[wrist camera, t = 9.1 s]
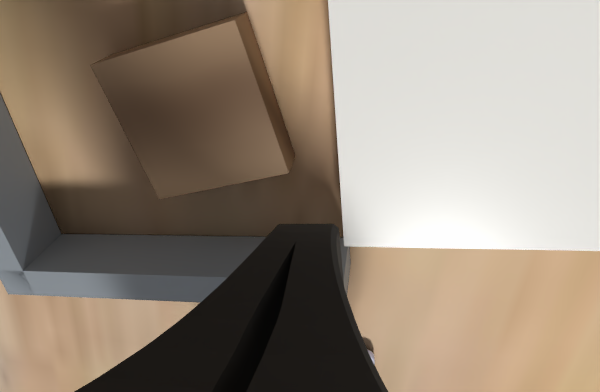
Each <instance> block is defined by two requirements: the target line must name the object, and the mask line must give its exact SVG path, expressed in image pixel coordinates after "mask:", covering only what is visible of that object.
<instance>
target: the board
mask: <svg viewBox="0 0 600 392" xmlns="http://www.w3.org/2000/svg"><path fill="white" fill-rule="evenodd" d="M328 9H329V24H330V39H331V54H332V69H333V84H334V100H335V115H336V130H337V145H338V160H339V175H340V190H341V205H342V221H343V236H344V246H348V247H405V248H463V249H520V250H578V251H600V0H328Z"/></svg>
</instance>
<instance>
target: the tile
mask: <svg viewBox="0 0 600 392" xmlns="http://www.w3.org/2000/svg"><path fill="white" fill-rule="evenodd" d="M90 66H91V68H92V70H93V72H94V74H95V75H96V77H97V79H98V81H99V83H100V85H101V87H102V89H103V91H104V93H105V95H106V97H107V99H108V101H109V103H110V105H111V107H112V109H113V111H114V112H115V114H116V116H117V118H118V120H119V122H120V124H121V126H122V128H123V130H124V132H125V134H126V136H127V138H128V140H129V142H130V144H131V146H132V148H133V150H134V151H135V153H136V155H137V157H138V159H139V161H140V163H141V165H142V167H143V169H144V171H145V173H146V175H147V177H148V179H149V181H150V183H151V185H152V187H153V189H154V190H155V192H156V194H157V196H158V198H159V200H160V199H165V198H170V197H175V196H180V195H185V194H189V193H194V192H199V191H204V190H209V189H214V188H219V187H224V186H229V185H234V184H239V183H244V182H248V181H253V180H258V179H263V178H268V177H273V176H278V175H283V174H288V173H289V172H290V169H291V166H292V164H293V161H294V159H295V153H294V150H293V147H292V144H291V141H290V139H289V136H288V133H287V130H286V127H285V124H284V121H283V118H282V115H281V112H280V109H279V106H278V103H277V100H276V97H275V94H274V91H273V88H272V85H271V82H270V79H269V76H268V73H267V70H266V67H265V64H264V61H263V59H262V56H261V53H260V50H259V47H258V44H257V41H256V38H255V35H254V32H253V29H252V26H251V23H250V20H249V17H248V14H247V12H245V13H241V14H238V15H235V16H232V17H229V18H226V19H222V20H219V21H216V22H213V23H210V24H207V25H204V26H200V27H197V28H194V29H191V30H188V31H185V32H181V33H178V34H175V35H172V36H169V37H166V38H163V39H159V40H156V41H153V42H150V43H147V44H144V45H140V46H137V47H134V48H131V49H128V50H125V51H122V52H118V53H115V54H112V55H110V56H108V57H106V58H104V59H102V60H100V61H98V62H96V63H94V64H92V65H90Z"/></svg>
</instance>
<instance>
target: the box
mask: <svg viewBox="0 0 600 392" xmlns="http://www.w3.org/2000/svg"><path fill="white" fill-rule="evenodd" d="M265 238H266V237H245V236H173V235H101V234H61V232H60V230H59V228H58V225H57V223H56V221H55V219H54V216H53V214H52V212H51V209H50V207H49V205H48V202H47V200H46V198H45V195H44V193H43V191H42V189H41V186H40V184H39V182H38V179H37V177H36V175H35V172H34V170H33V168H32V165H31V163H30V161H29V159H28V156H27V154H26V152H25V149H24V147H23V145H22V142H21V140H20V138H19V135H18V133H17V131H16V129H15V126H14V124H13V122H12V119H11V117H10V115H9V112H8V110H7V108H6V106H5V103H4V101H3V99H2V96H1V94H0V280H1V281H2V283H3V285H4V287H5V289H6V291H7V292H8V294H19V295H42V296H65V297H88V298H112V299H135V300H158V301H181V302H202V301H203V300H204V299H205V298H206V297H207V296H208V295H209V294H210V293H212V292H213V291H214V290H215V289H216V288H217V287H218V286H219V285H220V284H221V283H222V282H223V281H224V280H225V279H226V278H227V277H228V276H229V275H230V274H231V273H232V272H233V271H234V270H235V269H236V268H237V267H238V266H239V265H240V264H241V263H242V262H243V261H244V260H245V259H246V258H247V257H248V256H249V255H250V254H251V253H252V252H253V251H254V250H255V249H256V248H257V247H258V245H259V244H260V243H261V242H262V241H263V240H264V239H265ZM340 247H341V258H342V268H343V279H344V288H345V291H346V295H347V290H348V281H349V273H350V264H351V263H350V247H348V246H344V238H340Z"/></svg>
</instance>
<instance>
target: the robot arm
mask: <svg viewBox="0 0 600 392" xmlns="http://www.w3.org/2000/svg"><path fill="white" fill-rule="evenodd" d="M75 392H388V391H387V389H386V387H385V385H384V383H383V382H382V380H381V378H380V376H379V373H378V371H377V369H376V367H375V362H374V354H373V353H372V352H371V351H370V350H367V348H366V346H365V343H364V341H363V339H362V336H361V334H360V331H359V329H358V326H357V324H356V321H355V319H354V316H353V313H352V310H351V307H350V304H349V301H348V298H347V295H346V291H345V288H344V279H343V268H342V258H341V247H340V236H339V228H338V227H336V226H335V225H334V224H279V225H278V226H277V227H276V228H275V229H274V230H273V231H272V232H271V233H270V234H269V235H268V236H267V237H266V238H265V239H264V240H263V241H262V242H261V243H260V244H259V245H258V247H257V248H256V249H255V250H254V251H253V252H252V253H251V254H250V255H249V256H248V257H247V258H246V259H245V260H244V261H243V262H242V263H241V264H240V265H239V266H238V267H237V268H236V269H235V270H234V271H233V272H232V273H231V274H230V275H229V276H228V277H227V278H226V279H225V280H224V281H223V282H222V283H221V284H220V285H219V286H218V287H217V288H216V289H215V290H214V291H213V292H212V293H210V294H209V295H208V296H207V297H206V298H205V299H204V300H203V301H202V302H201V303H200V304H198V305H197V306H196V307H195V308H194V309H193V310H192V311H190V312H189V313H188V314H187V315H186V316H184V317H183V318H182V319H181V320H180V321H178V322H177V323H176V324H175V325H173V326H172V327H171V328H169V329H168V330H167V331H165V332H164V333H163V334H161V335H160V336H159V337H157V338H156V339H155V340H153V341H152V342H151V343H149V344H148V345H147V346H145V347H144V348H142V349H141V350H139V351H138V352H136V353H135V354H133V355H132V356H130V357H129V358H127V359H126V360H124V361H123V362H121V363H120V364H118V365H117V366H115V367H114V368H112V369H110V370H109V371H107V372H106V373H104V374H103V375H101V376H100V377H98V378H97V379H95V380H93V381H92V382H90V383H88V384H87V385H85V386H83V387H82V388H80V389H78V390H76V391H75Z"/></svg>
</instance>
